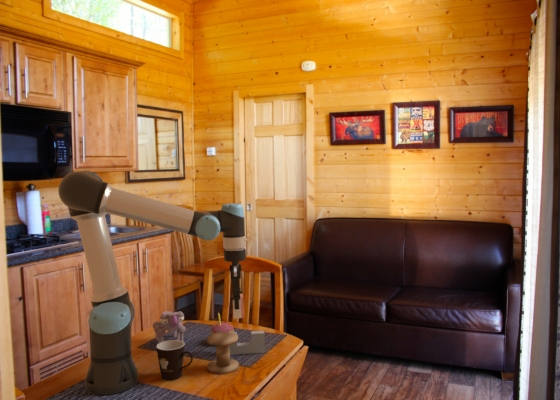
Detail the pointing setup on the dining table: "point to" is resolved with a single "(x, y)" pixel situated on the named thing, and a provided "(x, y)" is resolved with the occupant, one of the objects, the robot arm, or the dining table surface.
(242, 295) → the salmon pink block
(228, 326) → the cupcake
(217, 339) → the door knob
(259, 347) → the notch board
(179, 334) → the pale pink animal-shaped figure
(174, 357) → the coffee mug
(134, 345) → the dining table surface
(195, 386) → the dining table surface
